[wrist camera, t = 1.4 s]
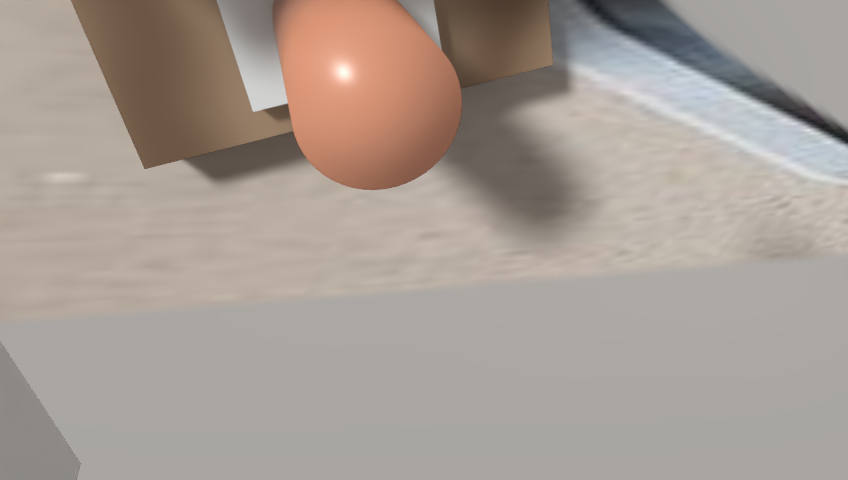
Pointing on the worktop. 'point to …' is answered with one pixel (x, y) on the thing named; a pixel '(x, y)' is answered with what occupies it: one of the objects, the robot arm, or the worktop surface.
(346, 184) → the white plank with peg
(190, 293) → the worktop surface
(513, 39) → the tunnel deck
